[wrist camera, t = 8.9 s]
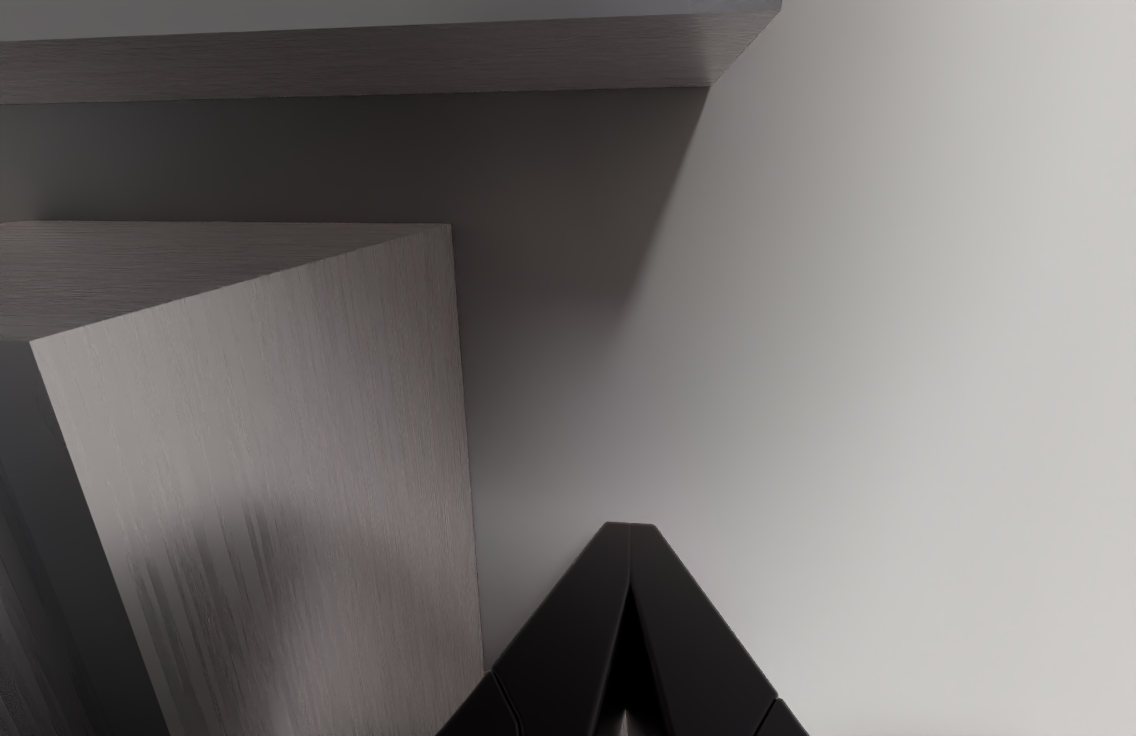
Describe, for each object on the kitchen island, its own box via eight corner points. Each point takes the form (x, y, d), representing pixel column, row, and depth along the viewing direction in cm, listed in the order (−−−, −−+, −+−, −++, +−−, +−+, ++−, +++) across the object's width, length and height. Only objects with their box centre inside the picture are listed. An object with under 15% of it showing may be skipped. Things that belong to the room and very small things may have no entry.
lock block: (485, 691, 11) (281, 1412, 5) (179, 660, 12) (-364, 1244, 5) (451, 223, 8) (-354, 448, 1) (33, 220, 9) (-1728, 358, 2)
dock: (891, 1026, 14) (973, 1295, 10) (86, 903, 16) (-53, 1089, 13) (1293, -50, 6) (2106, -325, 3) (-369, 28, 8) (-1010, -65, 5)
